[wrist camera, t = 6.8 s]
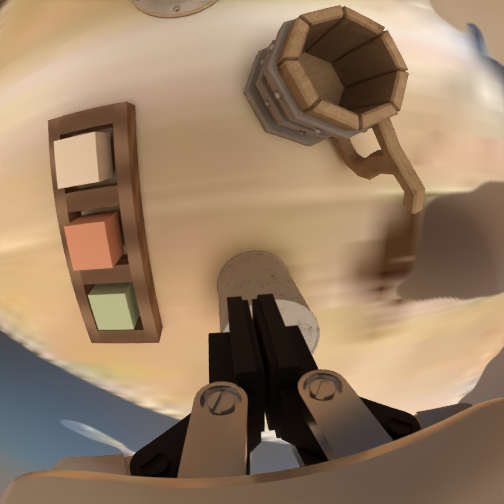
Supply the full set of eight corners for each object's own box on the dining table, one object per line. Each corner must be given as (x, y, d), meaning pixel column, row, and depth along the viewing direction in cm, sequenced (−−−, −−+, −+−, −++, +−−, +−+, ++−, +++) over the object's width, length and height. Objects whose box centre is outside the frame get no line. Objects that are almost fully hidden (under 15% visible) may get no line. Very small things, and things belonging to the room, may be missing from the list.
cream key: (72, 141, 27) (53, 141, 23) (110, 133, 27) (95, 131, 23) (75, 183, 29) (58, 189, 24) (113, 176, 29) (99, 181, 25)
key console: (61, 121, 27) (48, 120, 24) (134, 105, 29) (126, 101, 25) (98, 328, 38) (91, 342, 34) (162, 327, 39) (159, 342, 35)
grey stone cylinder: (270, 324, 41) (291, 385, 29) (206, 304, 38) (206, 366, 27) (302, 266, 38) (337, 315, 27) (234, 239, 36) (245, 285, 24)
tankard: (228, 67, 28) (240, 14, 15) (319, 32, 28) (378, -18, 14) (306, 212, 36) (363, 256, 22) (386, 169, 35) (466, 188, 21)
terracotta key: (80, 216, 30) (63, 226, 26) (117, 211, 31) (104, 221, 26) (87, 255, 32) (73, 270, 28) (124, 252, 32) (112, 267, 28)
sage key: (99, 279, 35) (87, 295, 31) (133, 277, 35) (124, 293, 31) (108, 311, 37) (98, 329, 33) (140, 310, 37) (134, 329, 33)
